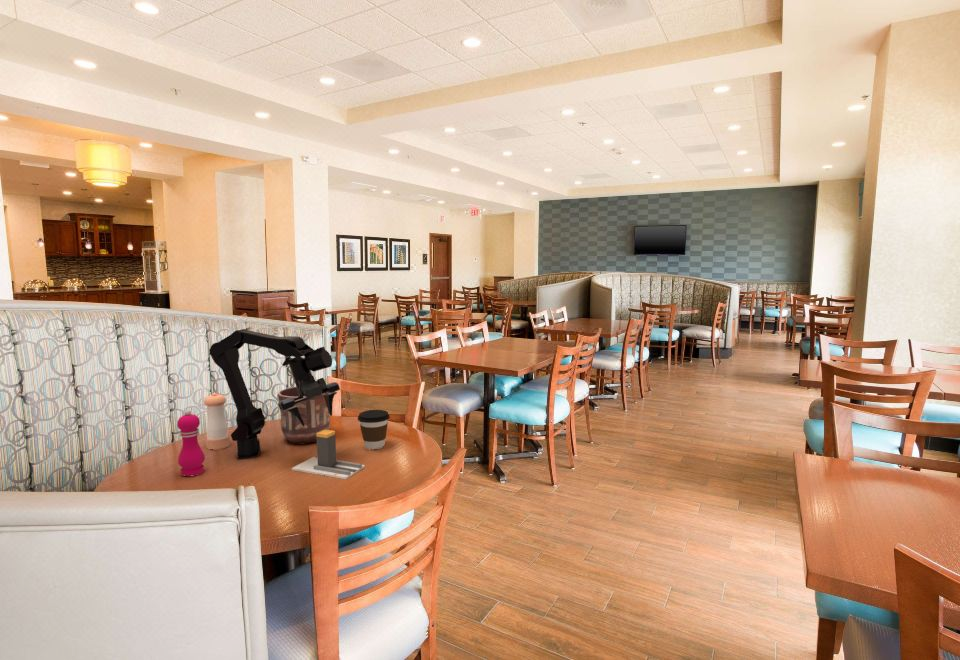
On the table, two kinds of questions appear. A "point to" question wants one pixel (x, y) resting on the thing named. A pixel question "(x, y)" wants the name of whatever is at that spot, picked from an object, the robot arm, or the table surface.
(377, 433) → the coffee cup
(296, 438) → the pottery
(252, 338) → the robot arm
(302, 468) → the plate
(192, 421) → the pepper mill
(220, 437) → the pepper shaker
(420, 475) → the table surface
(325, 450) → the fader knob
